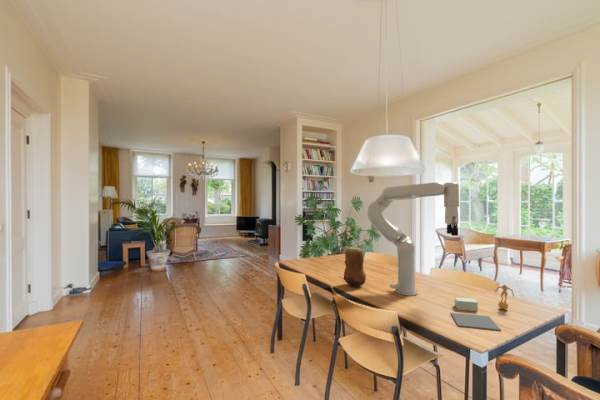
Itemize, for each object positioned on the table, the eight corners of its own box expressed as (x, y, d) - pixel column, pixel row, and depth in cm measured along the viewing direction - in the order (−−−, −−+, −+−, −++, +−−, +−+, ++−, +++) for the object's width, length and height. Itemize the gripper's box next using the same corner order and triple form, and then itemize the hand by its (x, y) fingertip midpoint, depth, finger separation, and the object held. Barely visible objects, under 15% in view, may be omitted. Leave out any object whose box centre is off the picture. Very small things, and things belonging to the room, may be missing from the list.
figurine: (492, 307, 142) (491, 284, 142) (497, 304, 146) (496, 281, 146) (511, 312, 136) (511, 288, 136) (516, 309, 139) (515, 285, 139)
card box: (457, 309, 141) (457, 300, 141) (454, 305, 146) (454, 297, 146) (477, 311, 138) (477, 302, 138) (474, 307, 143) (474, 298, 143)
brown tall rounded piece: (362, 282, 188) (362, 245, 188) (368, 289, 174) (367, 248, 174) (342, 283, 187) (341, 245, 187) (346, 289, 174) (345, 249, 174)
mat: (458, 326, 122) (458, 325, 122) (450, 313, 135) (450, 312, 135) (500, 331, 117) (500, 329, 117) (488, 317, 130) (488, 316, 130)
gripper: (440, 204, 168) (441, 232, 168) (448, 204, 151) (448, 236, 151) (454, 203, 166) (455, 232, 166) (463, 204, 149) (464, 236, 149)
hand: (452, 234), depth 158 cm, fingers open, 9 cm apart
